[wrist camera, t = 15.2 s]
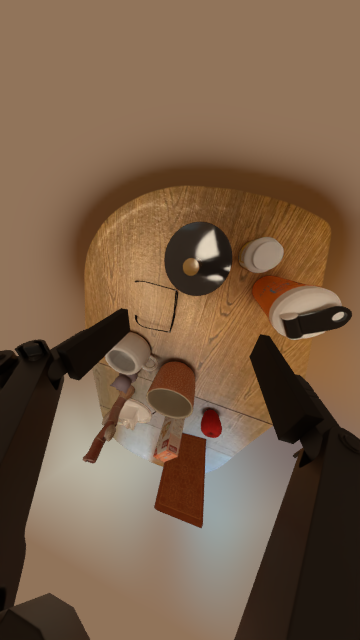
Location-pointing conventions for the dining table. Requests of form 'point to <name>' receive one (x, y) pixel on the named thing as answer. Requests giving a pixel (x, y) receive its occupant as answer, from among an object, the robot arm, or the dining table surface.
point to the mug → (130, 355)
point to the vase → (108, 426)
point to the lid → (198, 258)
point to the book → (184, 482)
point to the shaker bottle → (299, 307)
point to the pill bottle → (260, 254)
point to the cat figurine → (124, 382)
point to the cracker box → (169, 439)
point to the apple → (211, 424)
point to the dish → (134, 414)
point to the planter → (173, 391)
